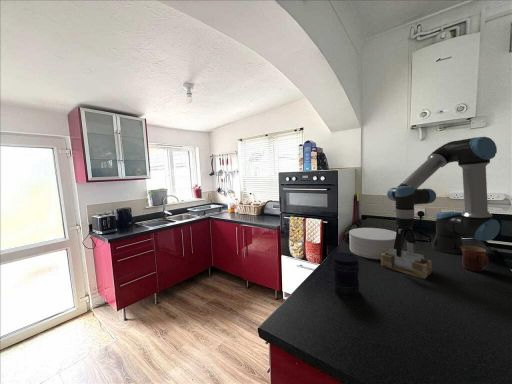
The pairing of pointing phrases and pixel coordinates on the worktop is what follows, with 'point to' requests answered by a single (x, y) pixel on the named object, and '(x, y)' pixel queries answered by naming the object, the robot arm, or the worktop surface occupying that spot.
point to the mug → (474, 258)
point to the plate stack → (371, 241)
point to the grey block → (406, 259)
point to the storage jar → (346, 274)
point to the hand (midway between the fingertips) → (404, 258)
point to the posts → (417, 268)
